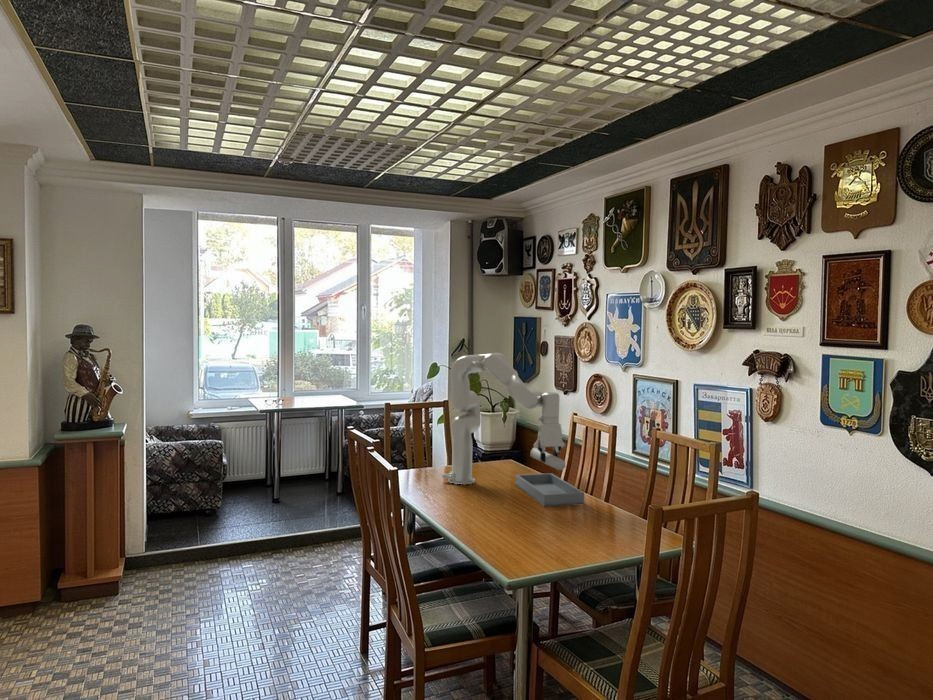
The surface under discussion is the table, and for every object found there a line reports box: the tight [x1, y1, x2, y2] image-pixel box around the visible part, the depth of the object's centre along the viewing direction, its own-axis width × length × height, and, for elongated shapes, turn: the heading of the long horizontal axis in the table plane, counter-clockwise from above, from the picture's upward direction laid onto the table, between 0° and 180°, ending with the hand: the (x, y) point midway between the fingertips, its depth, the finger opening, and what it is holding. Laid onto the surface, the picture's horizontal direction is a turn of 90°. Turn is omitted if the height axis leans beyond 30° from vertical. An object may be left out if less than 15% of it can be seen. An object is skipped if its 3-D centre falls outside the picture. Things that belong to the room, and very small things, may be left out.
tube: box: [529, 447, 566, 471], centre depth 274 cm, size 5×5×25 cm
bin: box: [515, 472, 585, 508], centre depth 275 cm, size 18×34×5 cm, turn 16°
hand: (548, 461), depth 274 cm, fingers closed on tube, 4 cm apart
